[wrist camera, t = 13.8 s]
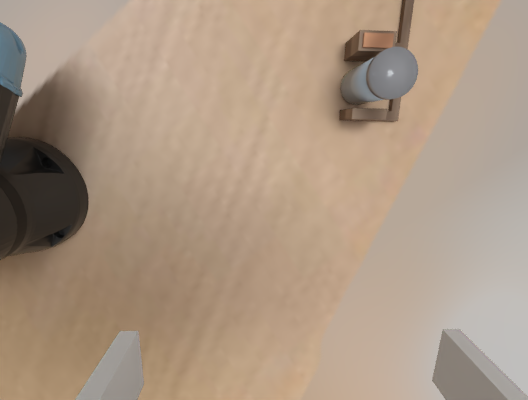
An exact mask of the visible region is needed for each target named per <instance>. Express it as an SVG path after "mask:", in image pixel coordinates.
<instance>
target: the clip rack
mask: <svg viewBox="0 0 528 400" xmlns="http://www.w3.org/2000/svg"><path fill="white" fill-rule="evenodd" d="M413 4H414V0H403V2H402V10H401V18H400V26H399V34H398V42H397V43H395V42H396V33H397V31H371V30H360V31H359V32H358V33H356V34H355V35H354V36H353V37H352V38H351V39H350V40H349V41H348V42H347V43H346V47H345V59H344V61H368V60H370V59H372V58H373V57H375V56H376V55H377V54H379V53H380V52H382V51H384V50H386V49H388V48H391V47H403V48H405V49H408V42H409V34H410V27H411V19H412V12H413ZM400 101H401V97H399V98H395V99H390V106H389V111H387V109H366V108H351V109H345V110H340V118H339V120H366V121H398V116H399V109H400Z"/></svg>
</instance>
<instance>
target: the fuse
mask: <svg viewBox="0 0 528 400" xmlns="http://www.w3.org/2000/svg"><path fill="white" fill-rule="evenodd" d="M417 75H418V65H417V61H416V59H415V57H414V55H413V54H412V53H411V52H410V51H409V50H407V49H405V48H403V47H391V48H388V49H386V50H384V51H382V52H380V53H379V54H377V55H376V56H375V57H373V58H372V59H370V60H368V61H366V62H364V63H363V64H361V65H359V66H357V67H355V68H354V69H352V70H350V71H349V72H347V73H346V74H345V76H344V77H343V79H342V82H341V93H342V96H343V98H344V99H345V100H346V101H347V102H349V103H351V104H362V103H368V102H373V101H378V100H384V99H385V100H389V99H395V98H399V97H401V96H403V95H405V94H406V93H407V92H409V91H410V89H411V88H412V87H413V85H414V84H415V81H416V79H417Z"/></svg>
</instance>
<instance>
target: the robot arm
mask: <svg viewBox="0 0 528 400" xmlns="http://www.w3.org/2000/svg"><path fill="white" fill-rule="evenodd" d="M25 61H26V50H25V47H24V44H23V42H22V41H21V39H20V38H19V37H18V36H17V35H16V33H15V32H14V31H12V30H11V29H10V28H9V27H7V26H6V25H4V24H2V23H0V260H1V259H3V258H5V257H7V256H12V255H18V254H24V253H30V252H36V251H42V250H46V249H49V248H51V247H54V246H56V245H58V244H60V243H61V242H63V241H65V240H66V239H68V238H69V237H71V236H72V235H73V234H74V233H76V231H77V230H78V229H79V228H80V227H81V225H82V223H83V221H84V219H85V217H86V213H87V208H88V195H87V190H86V186H85V183H84V181H83V178H82V176H81V174H80V173H79V171H78V170H77V168H76V167H75V165H74V164H73V163H72V162H71V161H70V160H69V159H68V158H67V157H66V156H65V155H64V154H63V153H61V152H60V151H59V150H57V149H56V148H54V147H52V146H50V145H48V144H46V143H44V142H41V141H38V140H35V139H30V138H22V137H14V138H8V135H9V131H10V127H11V124H12V120H13V117H14V113H15V109H16V106H17V102H18V98H19V96H20V97H22V90H21V88H20V87H21V82H22V77H23V72H24V67H25ZM432 381H433V382H434V384H435V385H436V386H437V388H438V389H439V391H440V392H441V394H442V395H443V396H444V398H445V399H446V400H528V396H527V395H526V394H525V393H523V391H522V390H521V389H520V388H519V387H518V386H517V385H516V384H515V383H514V382H513V381H511V379H509V378H508V376H506V375H505V374H504V373H503V372H502V371H501V370H500V369H499V368H498V367H497V366H496V365H495V364H494V363H493V362H492V361H491V360H490V359H489V358H488V357H487V356H486V355H485V354H484V353H483V352H482V351H481V350H480V349H479V348H478V347H477V346H476V345H475V344H474V343H473V342H472V341H471V340H470V339H469V338H468V337H467V336H466V335H465V334H464V333H463V332H462V331H461V330H460V329H443V331H442V336H441V340H440V345H439V351H438V355H437V360H436V365H435V369H434V374H433V380H432ZM143 385H144V379H143V369H142V360H141V350H140V341H139V331H120V332H119V333H118V335H117V336H116V338H115V339H114V341H113V342H112V344H111V345H110V347H109V349H108V350H107V352H106V353H105V355H104V356H103V358H102V359H101V361H100V362H99V364H98V365H97V367H96V368H95V370H94V371H93V373H92V375H91V376H90V378H89V379H88V381H87V382H86V384H85V385H84V387H83V388H82V390H81V391H80V393H79V394H78V396H77V397H76V399H75V400H137V399H138V397H139V394H140V392H141V390H142V387H143Z"/></svg>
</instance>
